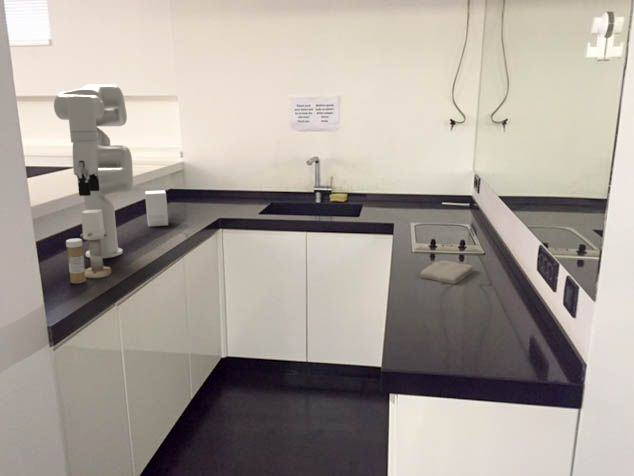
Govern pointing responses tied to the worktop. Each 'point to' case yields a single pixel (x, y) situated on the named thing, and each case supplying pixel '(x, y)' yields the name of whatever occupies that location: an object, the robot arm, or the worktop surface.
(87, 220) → the coupling cap
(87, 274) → the post base
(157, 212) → the supplement box
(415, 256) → the worktop surface
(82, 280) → the sprinkles bottle
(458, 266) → the washcloth
